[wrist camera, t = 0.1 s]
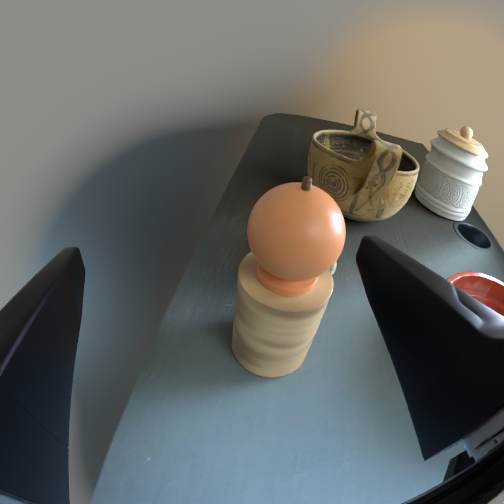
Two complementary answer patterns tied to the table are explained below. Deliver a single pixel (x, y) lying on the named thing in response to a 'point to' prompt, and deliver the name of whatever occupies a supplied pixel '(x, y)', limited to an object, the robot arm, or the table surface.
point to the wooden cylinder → (275, 322)
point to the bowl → (481, 289)
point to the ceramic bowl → (362, 170)
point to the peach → (295, 236)
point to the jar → (452, 173)
